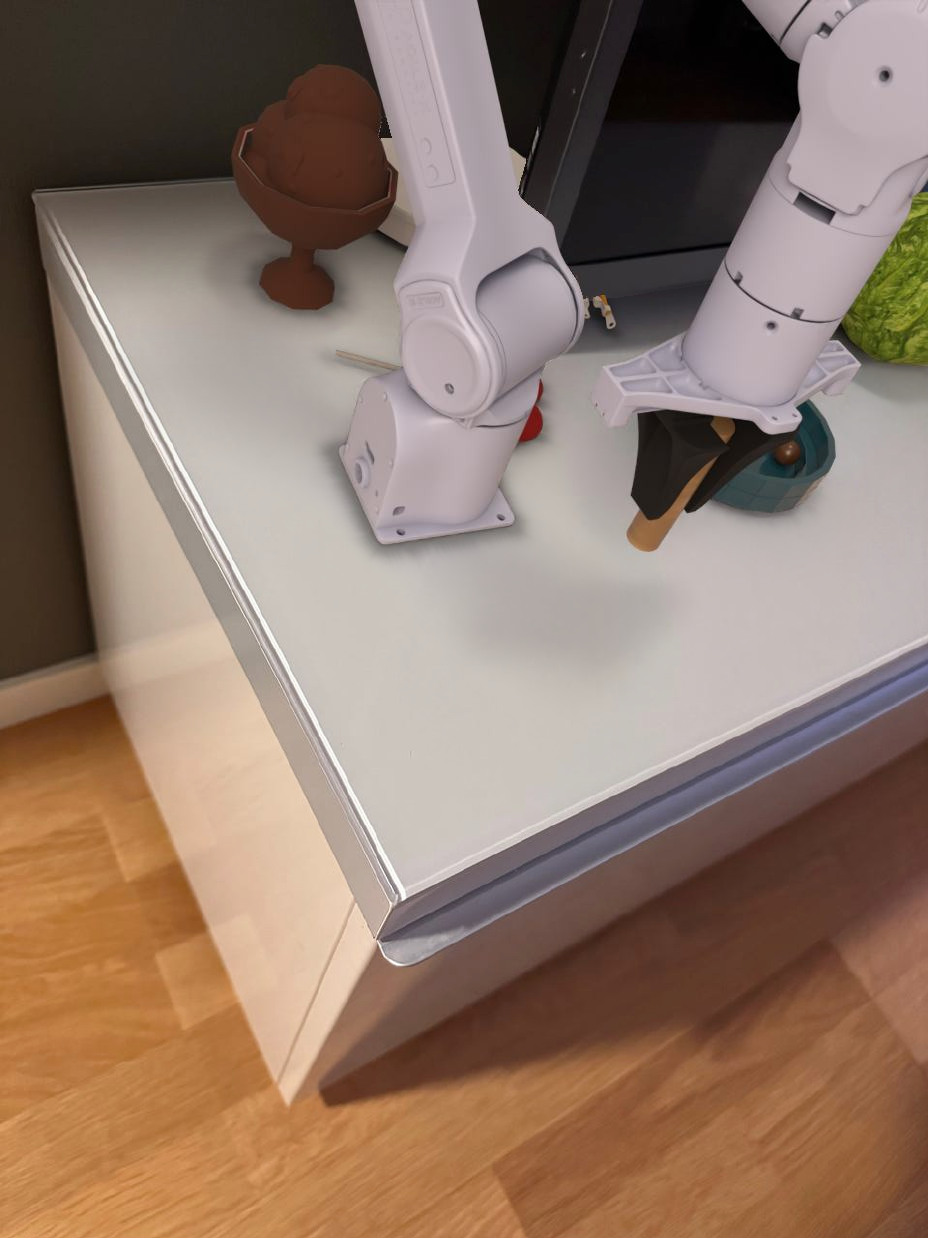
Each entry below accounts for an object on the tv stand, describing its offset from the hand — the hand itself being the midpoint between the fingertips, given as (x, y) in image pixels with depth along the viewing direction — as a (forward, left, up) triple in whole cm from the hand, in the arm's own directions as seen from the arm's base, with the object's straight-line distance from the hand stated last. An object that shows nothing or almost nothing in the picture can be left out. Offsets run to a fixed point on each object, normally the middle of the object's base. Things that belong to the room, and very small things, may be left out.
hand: (662, 502), depth 51 cm
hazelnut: (+22, +9, -8) cm, 25 cm away
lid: (+8, +42, -10) cm, 44 cm away
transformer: (+19, +34, -7) cm, 40 cm away
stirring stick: (0, 0, -3) cm, 3 cm away
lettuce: (+48, +28, -4) cm, 56 cm away
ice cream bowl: (-9, +31, -10) cm, 34 cm away
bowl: (+19, +11, -10) cm, 24 cm away
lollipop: (-2, +20, -10) cm, 23 cm away
